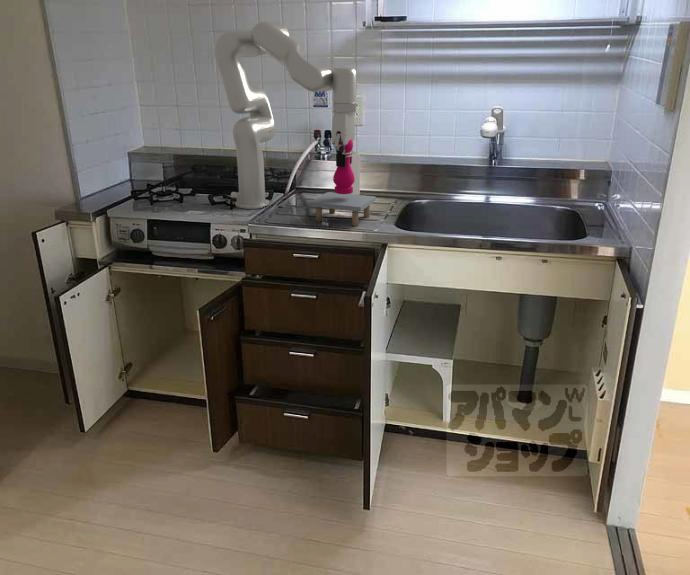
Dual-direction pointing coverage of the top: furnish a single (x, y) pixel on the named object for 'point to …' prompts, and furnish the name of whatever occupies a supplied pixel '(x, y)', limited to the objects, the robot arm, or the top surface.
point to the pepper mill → (344, 173)
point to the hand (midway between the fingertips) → (343, 164)
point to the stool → (343, 204)
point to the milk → (356, 172)
